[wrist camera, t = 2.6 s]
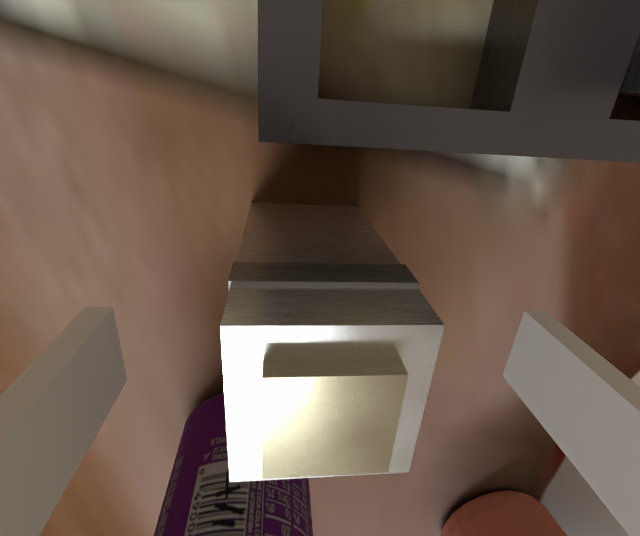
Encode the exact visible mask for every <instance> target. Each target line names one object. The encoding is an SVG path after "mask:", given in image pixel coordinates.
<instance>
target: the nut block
mask: <svg viewBox="0 0 640 536" xmlns="http://www.w3.org/2000/svg"><path fill="white" fill-rule="evenodd" d="M228 283H229V293H228V297H227V301H226V305H225V309H224V312H223V316H222V320H221V324H220V333H221V350H222V366H223V383H224V400H225V416H226V433H227V449H228V466H229V482H242V481H261V480H279V479H297V478H315V477H333V476H352V475H370V474H388V473H406V472H409V469H410V465H411V461H412V457H413V453H414V448H415V444H416V440H417V436H418V432H419V428H420V424H421V420H422V416H423V412H424V408H425V404H426V399H427V395H428V391H429V387H430V383H431V379H432V375H433V371H434V367H435V363H436V359H437V355H438V351H439V346H440V342H441V338H442V334H443V330H444V326H445V325H444V323H443V322H442V321H441V319H440V318H439V316H438V315H437V314H436V312H435V311H434V310H433V308H432V307H431V305H430V304H429V303H428V301H427V300H426V299H425V297H424V296H423V294H422V293H421V292H420V290H419V289H418V285H419V282H418V281H417V280H416V278H415V277H414V276H413V274H412V273H411V272H410V270H409V269H408V268H407V266H406V265H401V264H400V263H399V261H398V260H397V259H396V257H395V256H394V255H393V253H392V252H391V250H390V249H389V248H388V246H387V245H386V244H385V242H384V241H383V239H382V238H381V237H380V235H379V234H378V232H377V231H376V230H375V228H374V227H373V226H372V224H371V223H370V221H369V220H368V219H367V217H366V216H365V215H364V213H363V212H362V210H361V209H360V208H359V206H340V205H312V204H283V203H254V202H251V205H250V209H249V213H248V217H247V221H246V225H245V229H244V233H243V237H242V241H241V245H240V249H239V253H238V257H237V261H236V262H233V266H232V269H231V273H230V277H229V281H228Z"/></svg>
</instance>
